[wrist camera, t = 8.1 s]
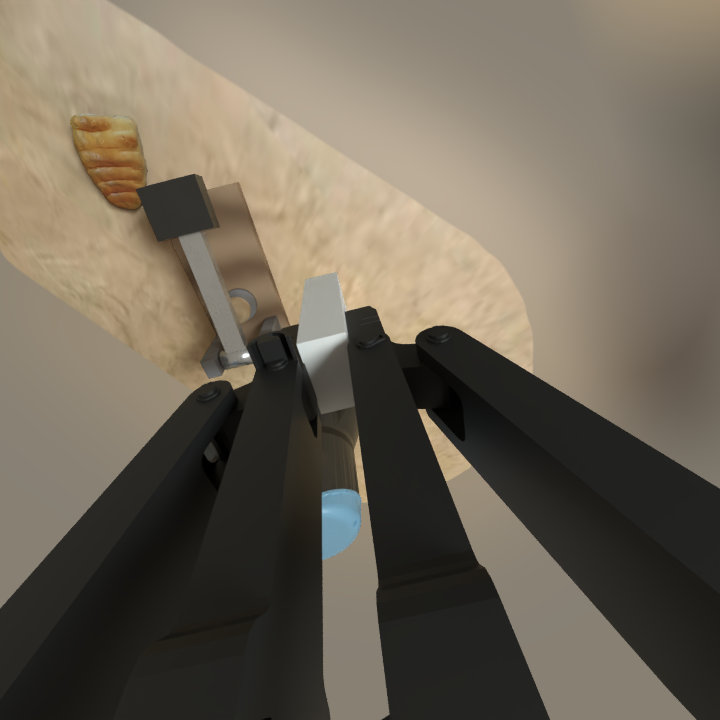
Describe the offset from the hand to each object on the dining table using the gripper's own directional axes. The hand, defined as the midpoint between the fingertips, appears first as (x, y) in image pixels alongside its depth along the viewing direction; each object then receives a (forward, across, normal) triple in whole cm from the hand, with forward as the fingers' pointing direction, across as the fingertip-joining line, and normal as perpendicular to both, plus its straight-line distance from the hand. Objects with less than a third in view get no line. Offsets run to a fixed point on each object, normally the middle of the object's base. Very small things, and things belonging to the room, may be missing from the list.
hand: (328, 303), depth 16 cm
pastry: (+33, +21, -11) cm, 41 cm away
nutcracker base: (+32, +14, +4) cm, 36 cm away
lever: (+25, +14, +3) cm, 29 cm away
